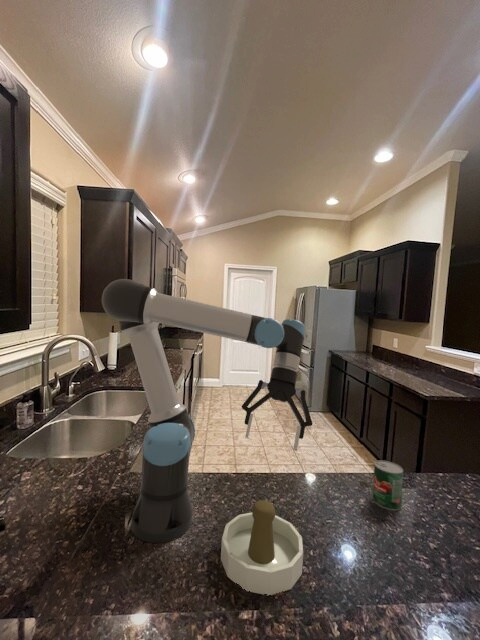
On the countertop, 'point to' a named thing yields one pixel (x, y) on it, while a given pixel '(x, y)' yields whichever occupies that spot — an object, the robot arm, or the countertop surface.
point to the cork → (262, 533)
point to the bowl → (262, 576)
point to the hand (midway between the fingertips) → (270, 444)
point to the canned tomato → (387, 485)
